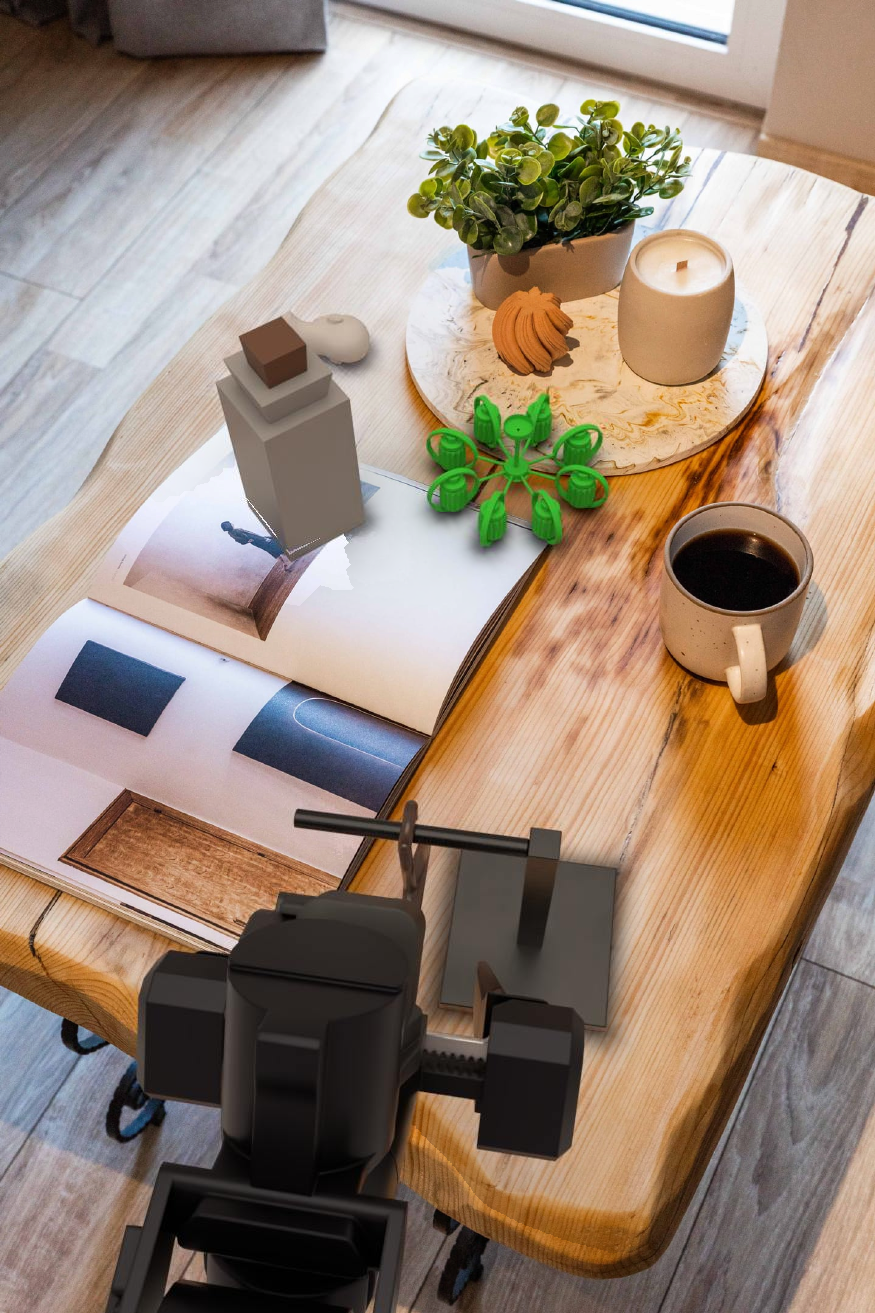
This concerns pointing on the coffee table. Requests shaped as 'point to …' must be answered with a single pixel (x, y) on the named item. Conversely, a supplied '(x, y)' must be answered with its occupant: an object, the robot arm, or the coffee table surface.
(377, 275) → the coffee table surface
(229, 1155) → the robot arm
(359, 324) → the beige rounded piece
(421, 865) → the hanger
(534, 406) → the chandelier
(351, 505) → the perfume bottle
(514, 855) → the hook stand
